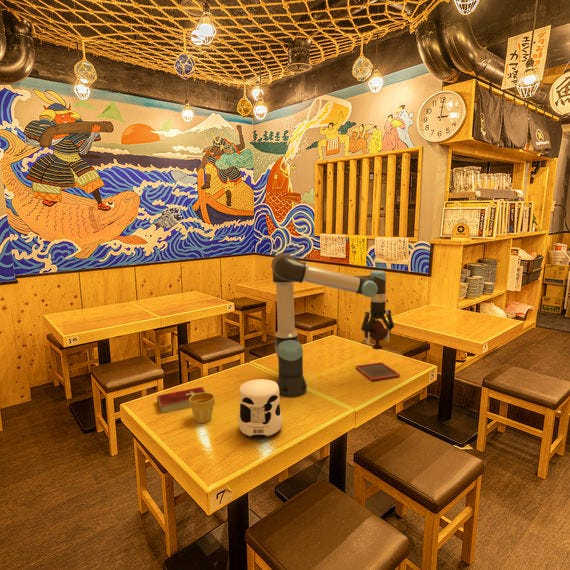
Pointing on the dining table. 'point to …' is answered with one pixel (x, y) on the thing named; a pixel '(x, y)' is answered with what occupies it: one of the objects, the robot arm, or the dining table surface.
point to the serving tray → (377, 371)
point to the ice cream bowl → (377, 333)
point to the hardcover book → (177, 399)
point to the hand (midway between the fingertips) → (377, 342)
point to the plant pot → (202, 406)
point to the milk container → (259, 408)
